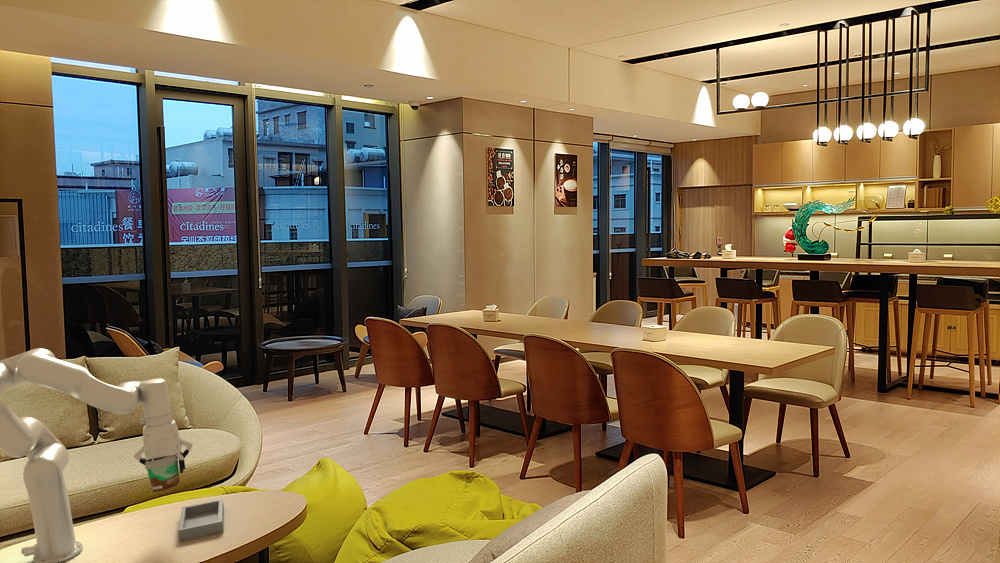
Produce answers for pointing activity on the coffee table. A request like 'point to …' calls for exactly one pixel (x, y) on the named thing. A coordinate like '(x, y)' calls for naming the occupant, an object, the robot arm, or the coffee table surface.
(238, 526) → the coffee table surface
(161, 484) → the food container
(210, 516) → the tray
